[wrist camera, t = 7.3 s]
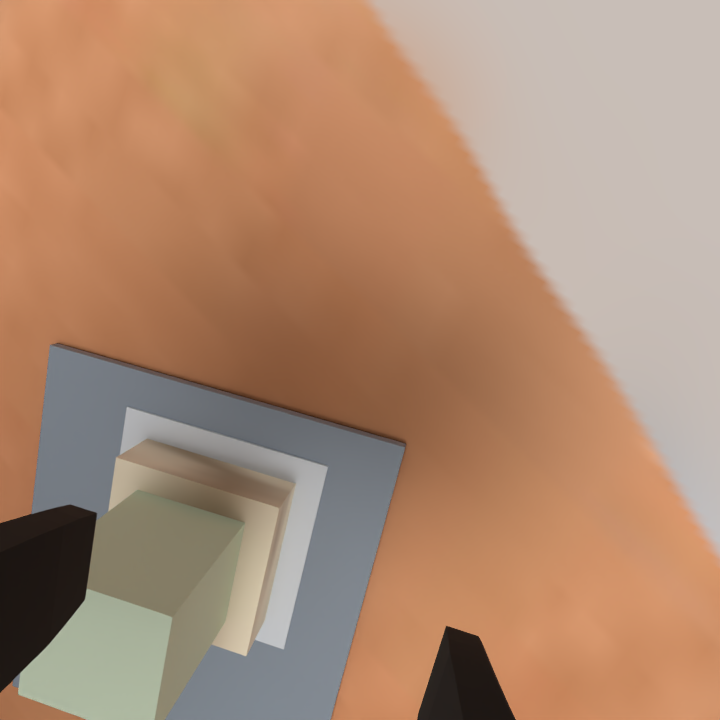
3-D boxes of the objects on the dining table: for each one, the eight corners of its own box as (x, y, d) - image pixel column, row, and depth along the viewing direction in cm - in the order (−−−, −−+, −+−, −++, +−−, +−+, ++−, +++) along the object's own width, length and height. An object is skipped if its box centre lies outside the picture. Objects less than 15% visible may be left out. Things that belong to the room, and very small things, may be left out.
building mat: (19, 679, 25) (10, 687, 25) (57, 343, 22) (48, 345, 21) (312, 786, 24) (309, 797, 23) (406, 443, 20) (404, 448, 19)
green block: (123, 587, 20) (17, 694, 15) (137, 489, 19) (30, 569, 14) (225, 621, 20) (150, 742, 15) (245, 522, 19) (172, 616, 14)
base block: (125, 573, 22) (94, 604, 21) (147, 438, 21) (116, 457, 19) (264, 620, 22) (246, 656, 20) (296, 483, 20) (279, 508, 18)
